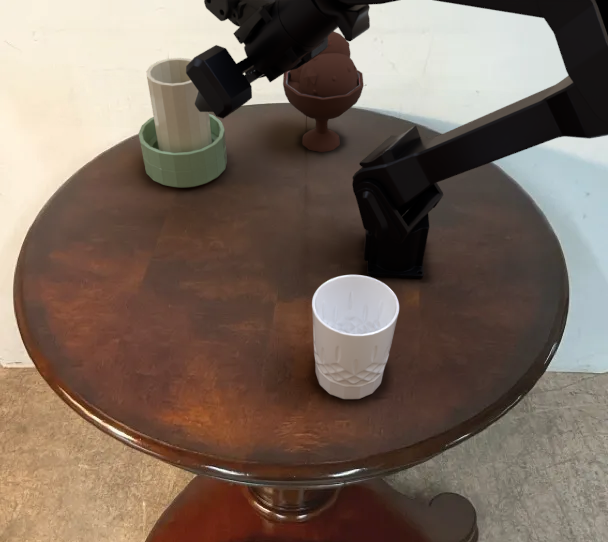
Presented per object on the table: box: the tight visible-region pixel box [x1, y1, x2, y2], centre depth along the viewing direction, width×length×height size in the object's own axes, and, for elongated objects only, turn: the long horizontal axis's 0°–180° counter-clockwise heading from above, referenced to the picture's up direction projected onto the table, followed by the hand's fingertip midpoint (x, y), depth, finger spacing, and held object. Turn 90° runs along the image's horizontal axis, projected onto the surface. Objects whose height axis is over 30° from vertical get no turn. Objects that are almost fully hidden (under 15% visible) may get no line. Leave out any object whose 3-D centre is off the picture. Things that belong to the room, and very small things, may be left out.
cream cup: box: [145, 57, 212, 153], centre depth 89 cm, size 7×7×13 cm
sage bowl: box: [138, 113, 228, 188], centre depth 92 cm, size 11×11×6 cm
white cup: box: [311, 274, 400, 400], centre depth 66 cm, size 8×8×10 cm
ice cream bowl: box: [282, 30, 364, 153], centre depth 94 cm, size 11×11×15 cm
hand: (223, 91), depth 81 cm, fingers open, 9 cm apart
